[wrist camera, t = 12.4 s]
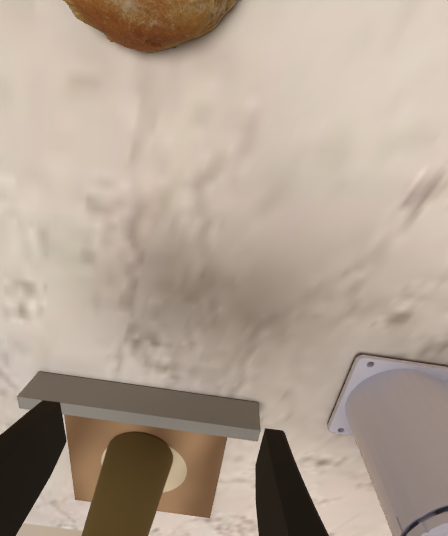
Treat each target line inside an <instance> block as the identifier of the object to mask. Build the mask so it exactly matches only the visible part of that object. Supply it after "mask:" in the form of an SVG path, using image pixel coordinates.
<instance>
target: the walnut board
mask: <svg viewBox="0 0 448 536" xmlns="http://www.w3.org/2000/svg"><path fill="white" fill-rule="evenodd" d="M64 416H65V424H66V431H67V439H68V447H69V455H70V463H71V471H72V478H73V486H74V494H75V500H81V501H88V502H92V499H93V495H94V492H95V488H96V485H97V481H98V478H99V475H100V471H101V468H102V464H103V461H104V457H105V454H106V450H107V447H108V445H109V442H110V441H111V440H112V439H113V438H115V437H116V436H118V435H121V434H124V433H132V432H137V433H145V434H148V435H151V436H154V437H156V438H158V439H160V440H161V441H163V442H164V443H165V444H166V445H167V446H168V447H169V448H170V449H171V451H172V454H173V463H172V466H171V469H170V472H169V475H168V478H167V481H166V484H165V487H164V490H163V493H162V496H161V499H160V502H159V505H158V508H157V511H162V512H169V513H177V514H184V515H191V516H199V517H206V518H210V515H211V510H212V505H213V501H214V496H215V491H216V487H217V482H218V477H219V473H220V468H221V463H222V459H223V454H224V449H225V445H226V440H227V437H222V436H215V435H208V434H201V433H194V432H187V431H179V430H172V429H165V428H158V427H151V426H144V425H136V424H129V423H122V422H115V421H108V420H101V419H93V418H86V417H79V416H72V415H65V414H64Z"/></svg>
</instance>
